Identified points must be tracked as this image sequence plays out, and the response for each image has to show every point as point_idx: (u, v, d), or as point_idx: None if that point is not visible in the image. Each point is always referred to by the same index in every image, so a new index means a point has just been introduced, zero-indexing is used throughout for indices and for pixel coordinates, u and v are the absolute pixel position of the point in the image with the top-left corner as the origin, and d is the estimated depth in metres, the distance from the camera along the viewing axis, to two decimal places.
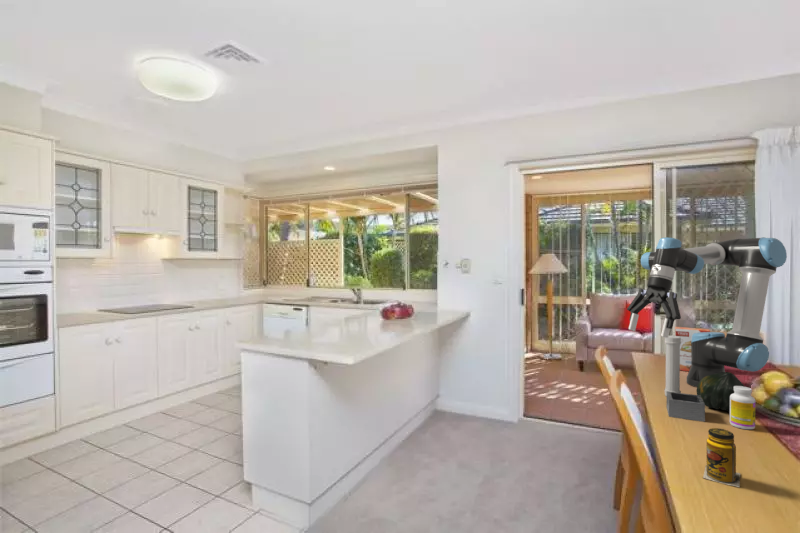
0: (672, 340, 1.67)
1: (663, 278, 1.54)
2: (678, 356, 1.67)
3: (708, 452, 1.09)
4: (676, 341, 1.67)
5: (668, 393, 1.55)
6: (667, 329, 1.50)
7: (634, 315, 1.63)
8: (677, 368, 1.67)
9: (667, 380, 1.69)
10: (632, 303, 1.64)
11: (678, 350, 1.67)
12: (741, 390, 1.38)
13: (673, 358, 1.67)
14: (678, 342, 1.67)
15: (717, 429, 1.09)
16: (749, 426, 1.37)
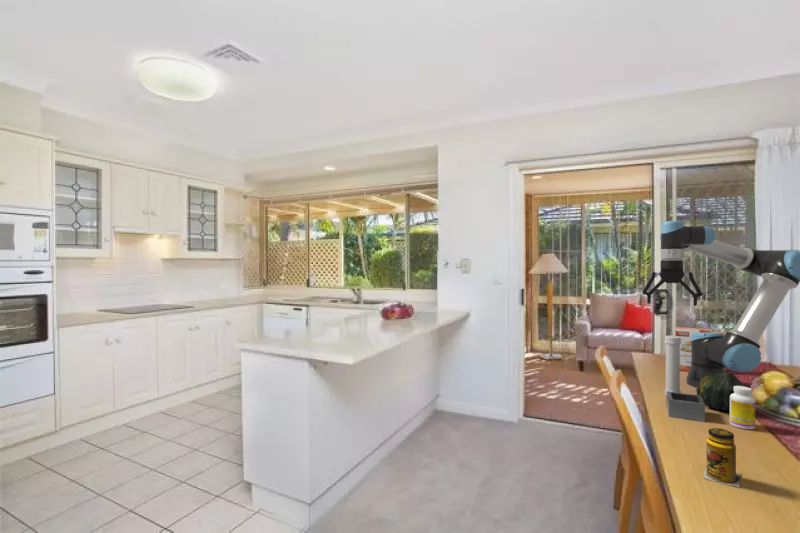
0: (672, 340, 1.67)
1: (681, 261, 1.65)
2: (678, 356, 1.67)
3: (708, 452, 1.09)
4: (676, 341, 1.67)
5: (668, 393, 1.55)
6: None
7: (652, 298, 1.71)
8: (677, 368, 1.67)
9: (667, 380, 1.69)
10: (647, 287, 1.72)
11: (678, 350, 1.67)
12: (741, 390, 1.38)
13: (673, 358, 1.67)
14: (678, 342, 1.67)
15: (717, 429, 1.09)
16: (749, 426, 1.37)
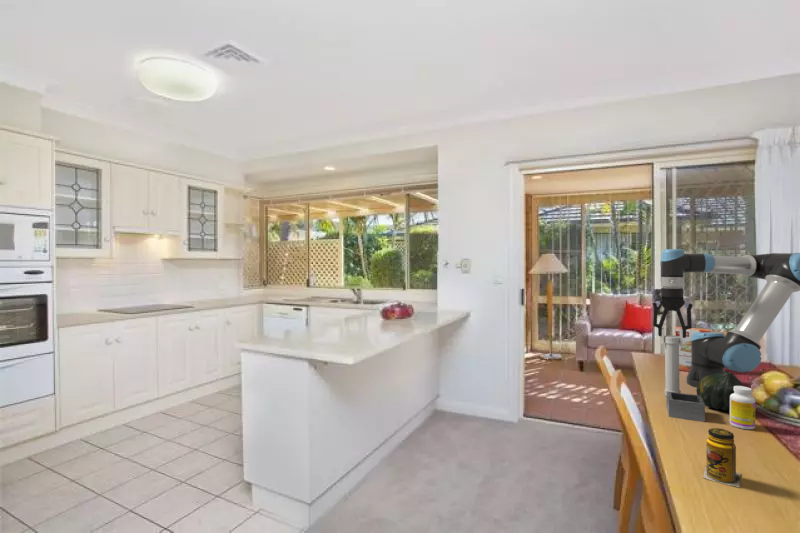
0: (671, 340, 1.67)
1: (681, 289, 1.65)
2: (677, 355, 1.67)
3: (708, 452, 1.09)
4: (675, 341, 1.67)
5: (668, 393, 1.55)
6: None
7: None
8: (676, 368, 1.67)
9: (667, 380, 1.69)
10: (655, 318, 1.71)
11: (677, 350, 1.67)
12: (741, 390, 1.38)
13: (672, 357, 1.67)
14: (677, 342, 1.67)
15: (717, 429, 1.09)
16: (749, 426, 1.37)
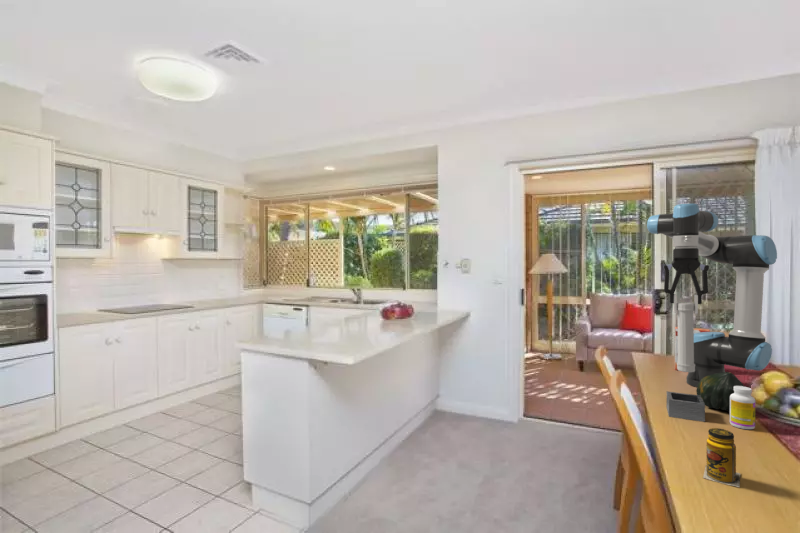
0: (685, 306, 1.48)
1: (696, 249, 1.46)
2: (691, 324, 1.48)
3: (708, 452, 1.09)
4: (689, 307, 1.48)
5: (668, 393, 1.55)
6: None
7: None
8: (691, 338, 1.48)
9: (680, 352, 1.50)
10: (666, 283, 1.51)
11: (692, 318, 1.48)
12: (741, 390, 1.38)
13: (686, 326, 1.48)
14: (691, 308, 1.48)
15: (717, 429, 1.09)
16: (749, 426, 1.37)
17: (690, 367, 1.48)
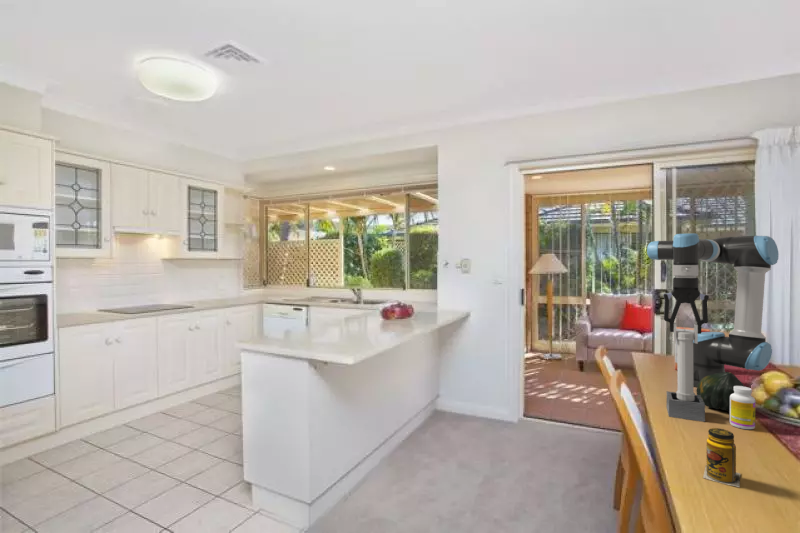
0: (684, 336, 1.48)
1: (696, 279, 1.47)
2: (691, 353, 1.48)
3: (708, 452, 1.09)
4: (689, 337, 1.48)
5: (668, 393, 1.55)
6: None
7: None
8: (690, 367, 1.48)
9: (679, 381, 1.50)
10: (666, 312, 1.52)
11: (692, 347, 1.48)
12: (741, 390, 1.38)
13: (685, 356, 1.49)
14: (691, 338, 1.48)
15: (717, 429, 1.09)
16: (749, 426, 1.37)
17: (690, 396, 1.48)
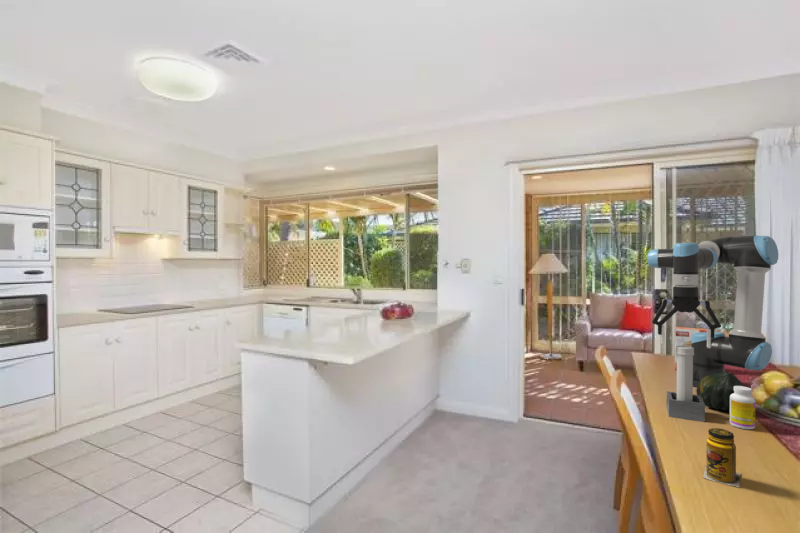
0: (684, 351, 1.49)
1: (696, 288, 1.47)
2: (690, 368, 1.49)
3: (708, 452, 1.09)
4: (688, 352, 1.48)
5: (668, 393, 1.55)
6: None
7: None
8: (690, 382, 1.49)
9: (678, 396, 1.51)
10: (658, 316, 1.53)
11: (691, 362, 1.49)
12: (741, 390, 1.38)
13: (685, 371, 1.49)
14: (691, 353, 1.48)
15: (717, 429, 1.09)
16: (749, 426, 1.37)
17: None
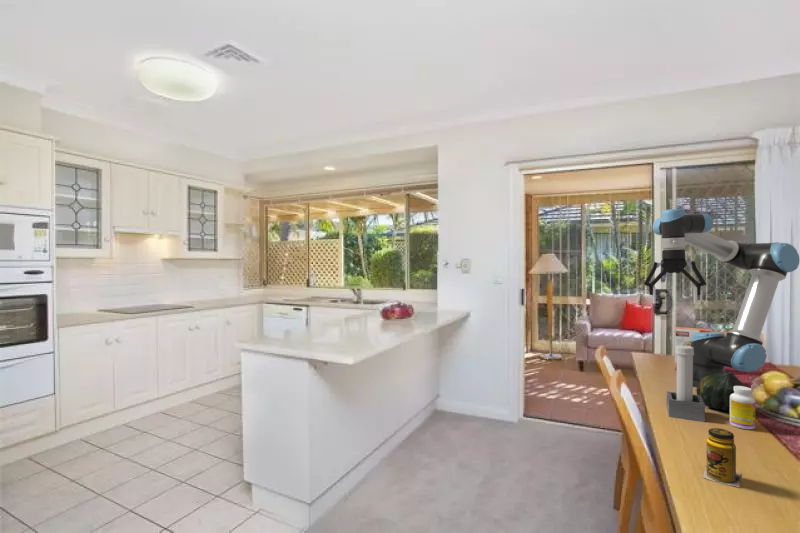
0: (684, 351, 1.49)
1: (683, 250, 1.60)
2: (690, 368, 1.49)
3: (708, 452, 1.09)
4: (688, 352, 1.48)
5: (668, 393, 1.55)
6: None
7: None
8: (690, 382, 1.49)
9: (678, 396, 1.51)
10: (649, 277, 1.66)
11: (691, 362, 1.49)
12: (741, 390, 1.38)
13: (685, 371, 1.49)
14: (691, 353, 1.48)
15: (717, 429, 1.09)
16: (749, 426, 1.37)
17: None
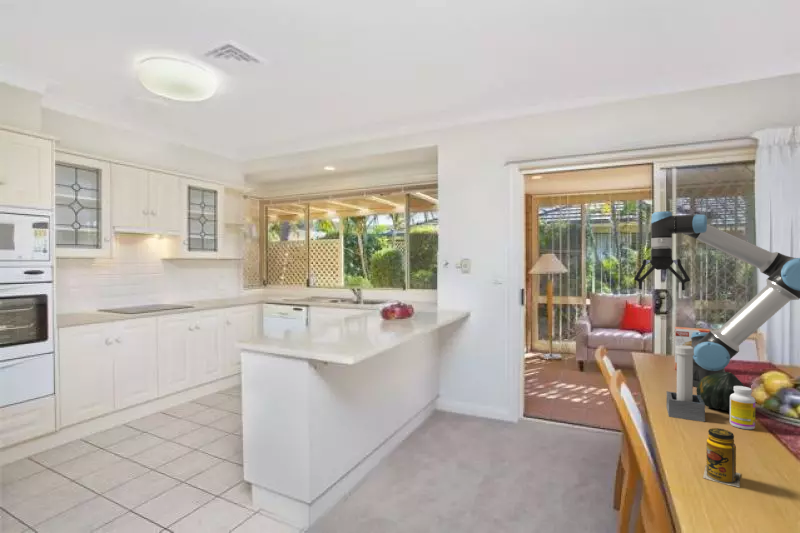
0: (684, 351, 1.49)
1: (669, 249, 1.77)
2: (690, 368, 1.49)
3: (708, 452, 1.09)
4: (688, 352, 1.48)
5: (668, 393, 1.55)
6: None
7: None
8: (690, 382, 1.49)
9: (678, 396, 1.51)
10: (639, 273, 1.83)
11: (691, 362, 1.49)
12: (741, 390, 1.38)
13: (685, 371, 1.49)
14: (691, 353, 1.48)
15: (717, 429, 1.09)
16: (749, 426, 1.37)
17: None
